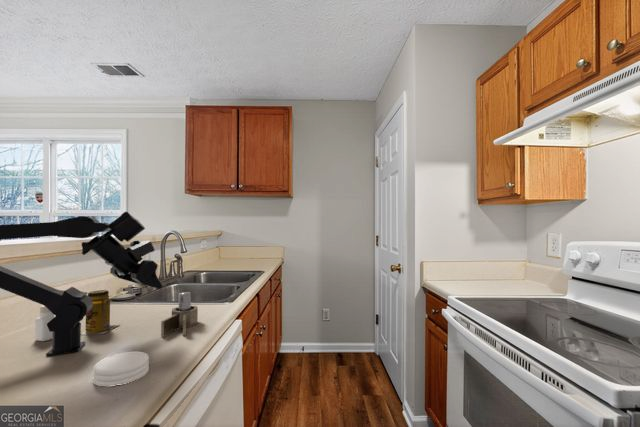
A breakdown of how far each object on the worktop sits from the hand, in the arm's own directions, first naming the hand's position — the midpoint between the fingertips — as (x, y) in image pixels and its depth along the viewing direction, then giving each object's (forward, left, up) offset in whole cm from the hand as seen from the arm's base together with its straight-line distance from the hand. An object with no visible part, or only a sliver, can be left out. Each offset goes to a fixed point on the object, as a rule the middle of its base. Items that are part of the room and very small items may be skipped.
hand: (153, 286), depth 94 cm
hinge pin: (+3, -9, -14) cm, 16 cm away
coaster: (-29, +3, -14) cm, 32 cm away
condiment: (+8, +15, -14) cm, 22 cm away
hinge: (-1, -8, -14) cm, 16 cm away
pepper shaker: (+5, +27, -14) cm, 31 cm away
